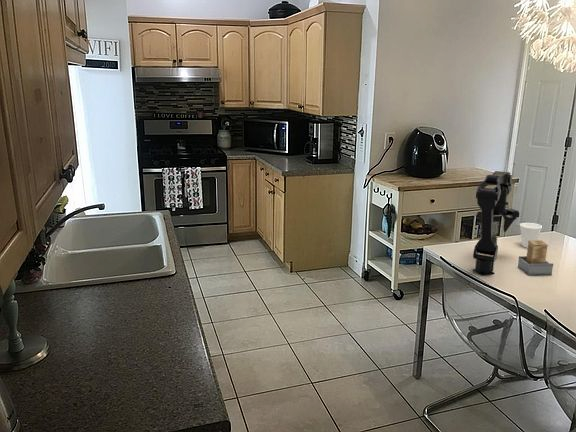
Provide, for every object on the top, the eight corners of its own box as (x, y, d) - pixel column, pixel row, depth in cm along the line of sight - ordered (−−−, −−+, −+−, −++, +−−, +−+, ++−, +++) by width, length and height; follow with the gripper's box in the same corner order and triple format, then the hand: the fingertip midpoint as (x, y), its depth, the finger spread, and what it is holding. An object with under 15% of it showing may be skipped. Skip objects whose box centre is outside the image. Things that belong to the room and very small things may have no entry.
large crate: (528, 275, 203) (530, 264, 201) (517, 267, 212) (518, 256, 211) (551, 275, 203) (553, 264, 201) (539, 266, 212) (541, 255, 211)
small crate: (530, 271, 205) (534, 244, 202) (524, 266, 210) (528, 240, 207) (544, 271, 204) (547, 244, 201) (538, 266, 210) (541, 240, 207)
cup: (543, 249, 233) (546, 228, 230) (522, 249, 233) (525, 228, 230) (533, 243, 243) (536, 222, 240) (514, 243, 243) (516, 222, 240)
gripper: (505, 194, 224) (501, 225, 228) (470, 197, 219) (467, 229, 224) (522, 199, 214) (518, 232, 218) (485, 202, 209) (482, 236, 213)
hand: (495, 232), depth 218 cm, fingers open, 9 cm apart
